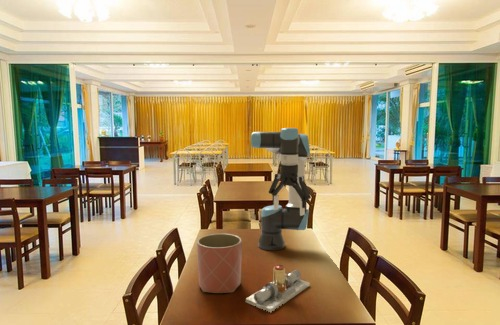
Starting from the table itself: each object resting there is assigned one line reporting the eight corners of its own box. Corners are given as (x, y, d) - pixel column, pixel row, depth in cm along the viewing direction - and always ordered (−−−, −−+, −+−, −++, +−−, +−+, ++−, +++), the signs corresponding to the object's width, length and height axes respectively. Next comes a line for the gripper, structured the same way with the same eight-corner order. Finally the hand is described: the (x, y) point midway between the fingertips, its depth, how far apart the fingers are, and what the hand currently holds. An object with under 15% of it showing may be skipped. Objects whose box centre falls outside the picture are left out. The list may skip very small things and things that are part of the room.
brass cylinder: (277, 285, 141) (277, 263, 140) (287, 289, 138) (287, 266, 137) (271, 290, 137) (270, 266, 136) (280, 293, 134) (280, 269, 133)
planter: (201, 275, 155) (201, 233, 153) (243, 276, 155) (243, 233, 153) (193, 295, 136) (192, 247, 134) (240, 296, 136) (240, 248, 134)
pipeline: (285, 278, 152) (286, 264, 152) (309, 285, 145) (309, 271, 144) (245, 302, 131) (245, 286, 130) (270, 312, 123) (270, 295, 123)
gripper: (260, 162, 150) (261, 209, 152) (310, 167, 134) (309, 219, 136) (271, 161, 155) (271, 206, 158) (319, 165, 139) (318, 215, 142)
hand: (288, 212), depth 147 cm, fingers open, 13 cm apart
